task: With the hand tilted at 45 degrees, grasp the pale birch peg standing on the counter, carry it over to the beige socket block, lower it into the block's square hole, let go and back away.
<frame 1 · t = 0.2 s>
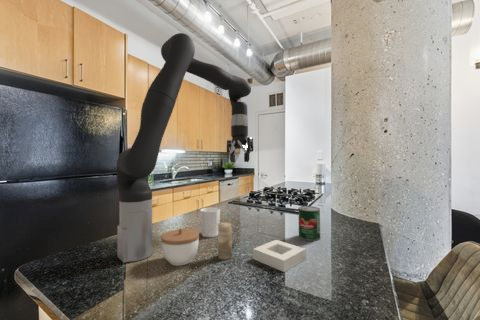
hand: (239, 162, 99), 29 cm above the countertop, tool pointing down, fingers open, 8 cm apart
birch peg: (225, 256, 68), on the countertop
lidded jar: (180, 261, 65), on the countertop
canned tomato: (309, 237, 84), on the countertop
beige socket block: (279, 259, 66), on the countertop
white cup: (210, 235, 88), on the countertop
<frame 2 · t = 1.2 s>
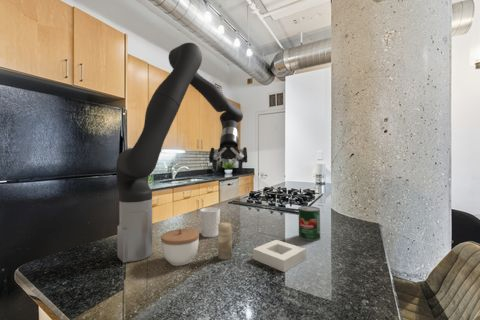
hand: (227, 169, 79), 26 cm above the countertop, tool tilted 45°, fingers open, 8 cm apart
nothing on the countertop moved.
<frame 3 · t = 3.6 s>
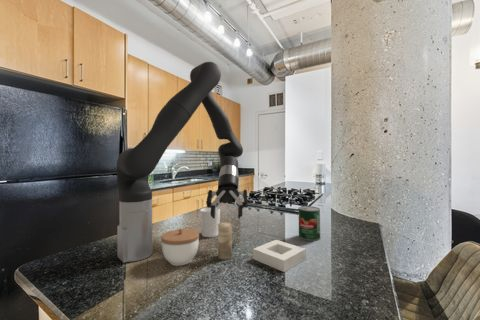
hand: (226, 217, 73), 11 cm above the countertop, tool tilted 45°, fingers open, 8 cm apart
nothing on the countertop moved.
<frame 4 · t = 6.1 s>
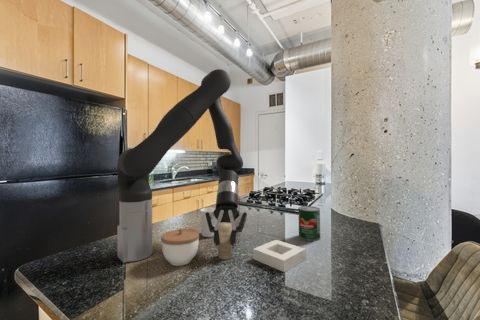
hand: (224, 244, 66), 5 cm above the countertop, tool tilted 45°, fingers closed on birch peg, 4 cm apart
birch peg: (225, 256, 68), on the countertop, touching gripper
everything else where it was.
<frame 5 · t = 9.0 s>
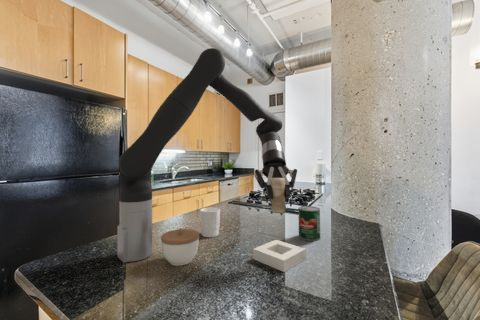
hand: (279, 197, 64), 18 cm above the countertop, tool tilted 45°, fingers closed on birch peg, 4 cm apart
birch peg: (278, 211, 66), point 14 cm above the countertop, touching gripper
everything else where it was.
when the fingers open (6 cm above the countertop, at t = 12.3 s): birch peg drops 1 cm, resting in beige socket block.
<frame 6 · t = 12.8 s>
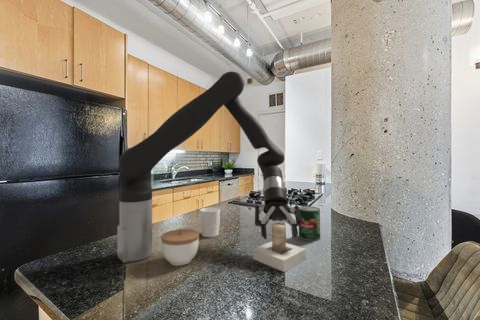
hand: (280, 238, 64), 7 cm above the countertop, tool tilted 45°, fingers open, 8 cm apart
birch peg: (279, 258, 66), resting in beige socket block
everything else where it was.
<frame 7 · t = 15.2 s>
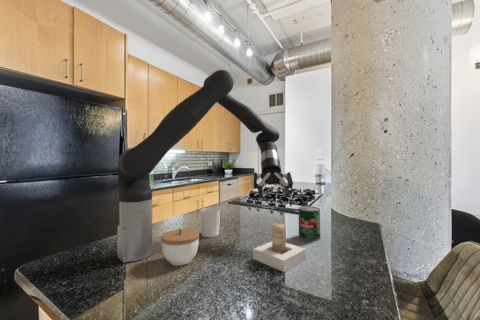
hand: (274, 196, 77), 17 cm above the countertop, tool tilted 45°, fingers open, 8 cm apart
nothing on the countertop moved.
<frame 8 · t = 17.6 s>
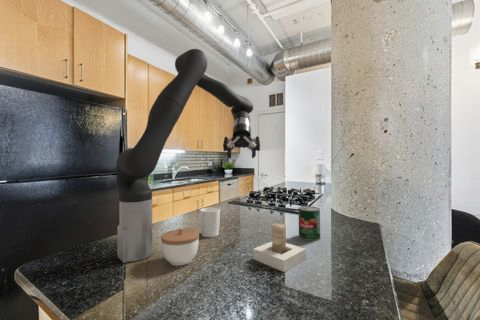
hand: (241, 156, 83), 31 cm above the countertop, tool tilted 45°, fingers open, 8 cm apart
nothing on the countertop moved.
at the end: birch peg 0.1 cm off-centre on the beige socket block, point 0.0 cm above the beige socket block's base; birch peg tilted 0°; the gripper is holding nothing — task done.
